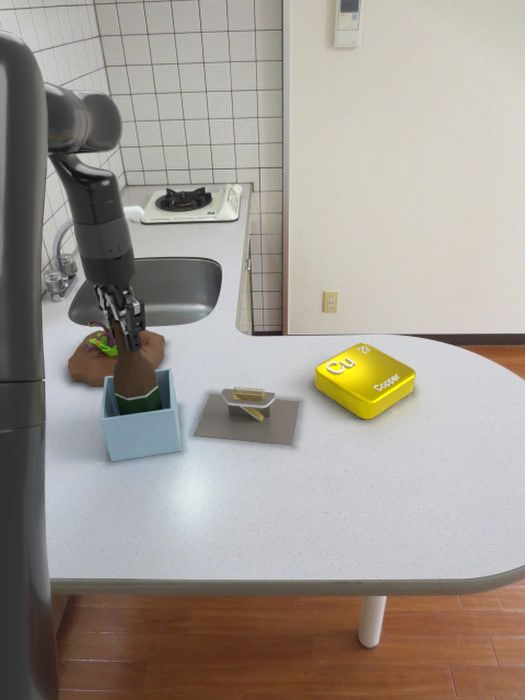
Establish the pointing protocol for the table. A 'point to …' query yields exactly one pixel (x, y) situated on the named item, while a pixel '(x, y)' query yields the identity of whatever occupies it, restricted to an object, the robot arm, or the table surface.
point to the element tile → (364, 380)
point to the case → (141, 423)
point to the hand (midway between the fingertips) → (126, 343)
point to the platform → (249, 417)
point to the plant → (108, 355)
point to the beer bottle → (133, 379)
